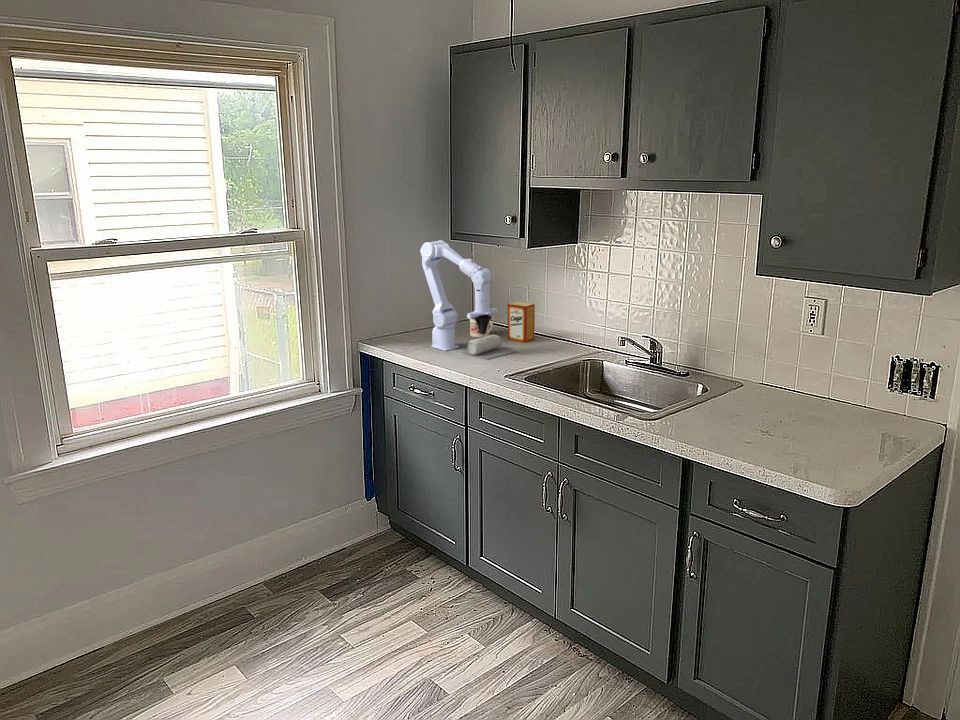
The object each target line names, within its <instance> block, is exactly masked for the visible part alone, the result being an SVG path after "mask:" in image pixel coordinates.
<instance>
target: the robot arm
mask: <svg viewBox="0 0 960 720" xmlns="http://www.w3.org/2000/svg"><path fill="white" fill-rule="evenodd" d="M419 252H420V255H421V266H422V268H423V272H424V275H425V279H426V281H427V284H428V288H429V290H430V293H431V298H432V301H433V303H434V307H433V309H432V316H433V317H432V320H433V324H434V325H435V326H434V327H433V328H432V332H431V333H432V334H431V337H432V339H431V340H432V342H431V343H432V345H430V347H431V348H434V349H437V350H440V351H444V352H446V351H447V352H448V351H451V350H455V349H458V348H459V349H460V346H459V345H456V335H455V334H456V333H455V331H456V330H455V327H456V323H457V322H458V321H459V314H458V312H457V311H456V310H455V308H454V305H452V304H451V303H450V302H449V301H448V297H447V295H446V292H445V288H444V285H443V282H442V279H441V276H440V273H439V269H438V266H437V265H438V263H439V262H440V260H441V259H442V258H446V259H447V260H449V261H450V262H452V263H453V264H455V265H457V267H459V271H460V272H462V273H463V274H464V275H466V276H467V277H469V278H470V279H471V282H472V283H473V288H474V310H473V311H471V312H468V313H466V318H467V319H468V320H470V319H472V318H474V319H475V321H476V323H477V325H478V328H479V332H480V334H486V330H487V326H488V323H489V321H491V319H492V315H493V314H494V315H495V314H498V308H495V307H493V308H490V304H491V303H490V302H491V301H490V300H491V299H490V283H491V282H492V280H493V274H492V272H491V270H489V269H488V268H487V267H485V268H482V266H481V265H478V264H477V263H476V262H474V259H472V258H464V257H462V256H461V255H460V254H459V253H457V252H456V251H455V250H454V249H452V248H451V247H450V245H449V243H447V242H445V241H444V240H441V239H439V240H436V241H429V242H428V241H427V242H424V243H423V244H422V245H421V248H420V250H419ZM489 315H490V316H489ZM489 324H490V323H489Z"/></svg>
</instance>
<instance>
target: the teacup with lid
mask: <svg viewBox="0 0 960 720" xmlns="http://www.w3.org/2000/svg"><path fill="white" fill-rule="evenodd" d="M489 316H491V314H490V315H489ZM493 329H494V323H493V322H492V320H490V321H489V323H488V326H487V330H486V334H480V332H479V328H478V325H477V323H476V321H475V319H474V318H472V319H469V334H470V336H471V337H473V338H482V337H486V336H489V335H491V334H490V332H492V331H493Z"/></svg>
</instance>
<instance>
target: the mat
mask: <svg viewBox="0 0 960 720" xmlns="http://www.w3.org/2000/svg"><path fill="white" fill-rule="evenodd" d="M518 352H519V351H518V350H516V349H513V348H508V347H504V346H502V345H500V346H499V347H498V348H497V349H494V350H491V351H487V352H484V353H480V354H477V355H473V354H471V353H470V352H469V351H468V349H467V350H464V351H462V352H461V354H465V355H469V356H471V357H472V356H473V357H477V358H480V359H484V360H487V361H488V360H492V359H495V358H500V357H503V356H507V355H511V354H514V353H515V354H516V353H518Z"/></svg>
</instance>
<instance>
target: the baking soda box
mask: <svg viewBox="0 0 960 720" xmlns="http://www.w3.org/2000/svg"><path fill="white" fill-rule="evenodd" d="M535 306H536V304H535V303H530V302H522V301H514V302H510V303H509V302H508V303H507V340H510V341H513V342H519V343H525V344H526V343H529V342H532V341H534V340H535V315H536V314H535V313H536V312H535V309H536V308H535Z"/></svg>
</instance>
